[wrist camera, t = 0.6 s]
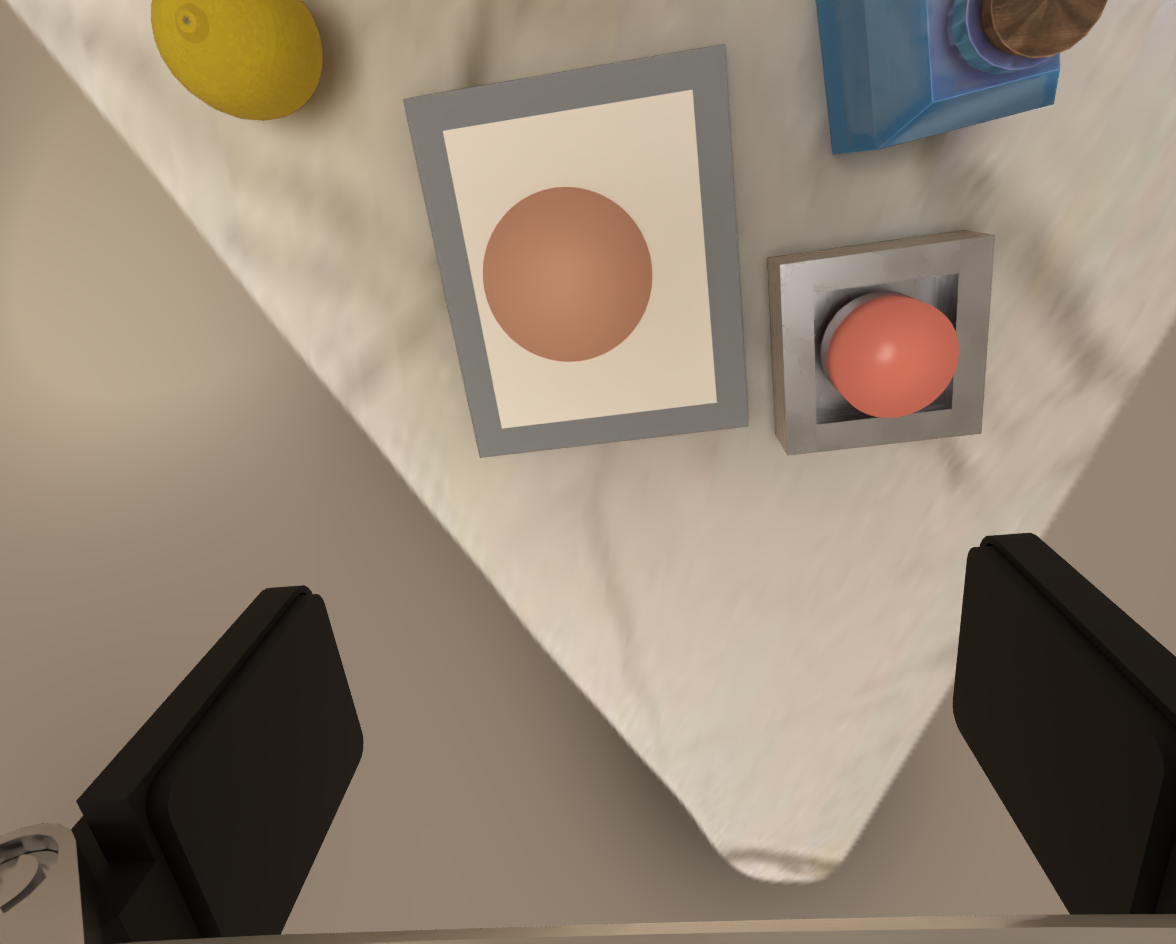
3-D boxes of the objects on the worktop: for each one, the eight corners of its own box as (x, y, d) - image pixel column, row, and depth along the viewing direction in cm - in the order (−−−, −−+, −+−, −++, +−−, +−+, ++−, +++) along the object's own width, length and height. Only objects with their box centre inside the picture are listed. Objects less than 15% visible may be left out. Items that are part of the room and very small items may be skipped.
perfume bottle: (832, 154, 32) (940, 143, 21) (815, -3, 30) (926, -107, 19) (975, 117, 31) (1166, 85, 20) (969, -47, 29) (1179, -184, 18)
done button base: (767, 257, 34) (779, 264, 31) (963, 230, 33) (994, 235, 30) (775, 434, 37) (787, 455, 35) (954, 413, 36) (981, 433, 34)
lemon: (372, 92, 32) (296, 67, 25) (271, 147, 33) (169, 138, 26) (306, -42, 30) (203, -113, 23) (201, 21, 31) (70, -27, 24)
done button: (819, 299, 33) (834, 308, 30) (937, 283, 32) (962, 292, 30) (821, 407, 35) (836, 424, 32) (932, 393, 34) (955, 410, 32)
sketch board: (409, 101, 32) (401, 98, 31) (722, 48, 31) (725, 43, 30) (483, 451, 38) (478, 459, 37) (745, 420, 37) (749, 427, 36)
